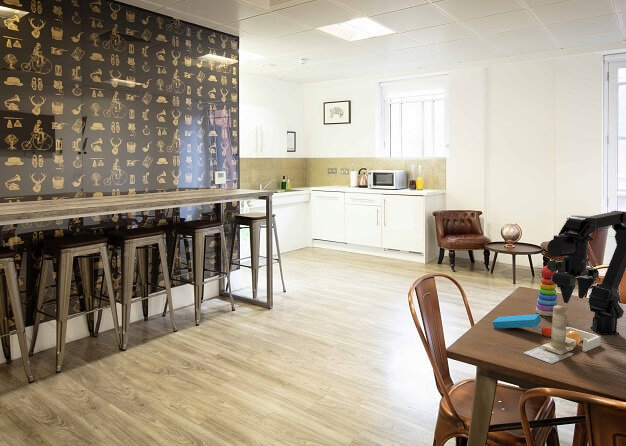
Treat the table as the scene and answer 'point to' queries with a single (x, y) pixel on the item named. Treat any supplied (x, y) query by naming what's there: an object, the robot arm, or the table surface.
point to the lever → (522, 323)
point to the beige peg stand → (559, 332)
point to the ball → (574, 336)
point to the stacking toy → (546, 294)
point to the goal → (586, 338)
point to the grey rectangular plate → (547, 355)
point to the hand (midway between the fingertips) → (573, 300)
